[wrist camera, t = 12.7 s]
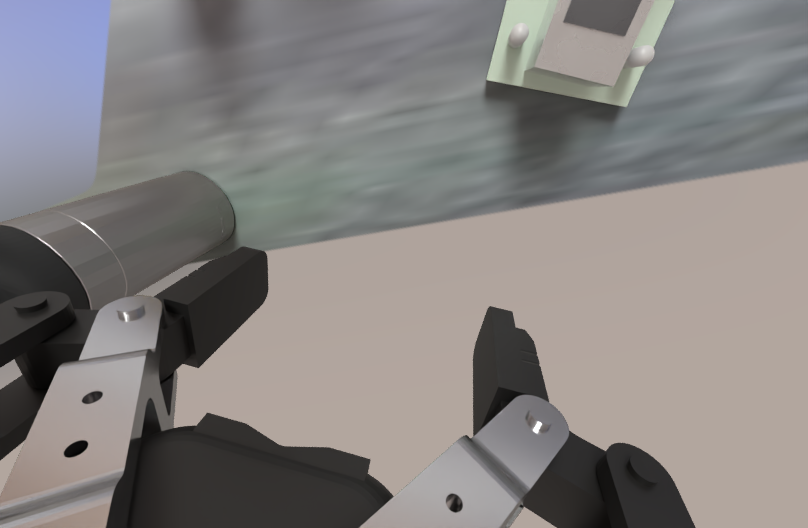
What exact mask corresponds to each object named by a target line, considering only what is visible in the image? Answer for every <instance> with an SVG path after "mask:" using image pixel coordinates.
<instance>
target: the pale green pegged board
mask: <svg viewBox="0 0 808 528" xmlns="http://www.w3.org/2000/svg"><path fill="white" fill-rule="evenodd" d="M548 2H549V0H507V2H506V6H505V10H504V14H503V17H502V21H501V25H500V29H499V33H498V37H497V41H496V45H495V49H494V52H493V56H492V60H491V64H490V68H489V72H488V76H487V80H488V81H493V82H498V83H504V84H509V85H514V86H519V87H524V88H529V89H534V90H539V91H545V92H550V93H555V94H560V95H565V96H570V97H575V98H580V99H586V100H591V101H596V102H601V103H606V104H611V105H616V106H622V107H627V105H628V103H629V100H630V98H631V96H632V94H633V92H634V89H635V87H636V85H637V83H638V81H639V78H640V76H641V74H642V72H643V70H644V67H645V65H647V64H648V63H650V62H651V60H652V59H653V57H654V49H653V48H654V45H655V43H656V41H657V39H658V37H659V35H660V32H661V30H662V28H663V26H664V24H665V21H666V19H667V17H668V15H669V13H670V10H671V8H672V6H673V4H674V2H675V0H655V1H654V3H653V5H652V7H651V10H650V12H649V14H648V16H647V18H646V20H645V22H644V24H643V26H642V28H641V30H640V33H639V35H638V37H637V39H636V41H635V43H634V45H633V47H632V49H631V51H630V54H629V56H628V58H627V60H626V62H625V64H624V66H623V68H622V70H621V72H620V74H619V77H618V79H617V81H616V83H615V85H614V87H587V86H583V85H579V84H575V83H571V82H567V81H563V80H559V79H555V78H551V77H547V76H543V75H539V74H535V73H531V72H527V71H524V70H525V67H526V65H527V62H528V59H529V56H530V53H531V50H532V47H533V45H534V42H535V39H536V36H537V33H538V30H539V27H540V25H541V22H542V19H543V16H544V13H545V10H546V7H547V5H548Z"/></svg>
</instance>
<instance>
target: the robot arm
mask: <svg viewBox="0 0 808 528" xmlns="http://www.w3.org/2000/svg"><path fill="white" fill-rule="evenodd" d="M233 229H234V214H233V210H232V207H231V205H230V202H229V201H228V199H227V197H226V195H225V194H224V193H223V192H222V190H221V189H220V188H219V187H218V186H217V185H216V184H215V183H214V182H213V181H211V180H210V179H208V178H207V177H205V176H203V175H201V174H198V173H195V172H190V171H183V172H179V173H176V174H172V175H168V176H165V177H160V178H156V179H152V180H149V181H145V182H142V183H138V184H135V185H131V186H127V187H124V188H120V189H117V190H113V191H109V192H106V193H102V194H99V195H95V196H92V197H88V198H84V199H82V200H78V201H74V202H71V203H67V204H64V205H60V206H56V207H53V208H49V209H46V210H42V211H39V212H36V213H32V214H29V215H25V216H21V217H18V218H14V219H11V220H7V221H4V222H0V367H2V366H4V365H5V364H7V363H9V362H10V361H12V360H13V359H15V361H16V363H17V365H18V367H19V369H20V370H21V373H22V376H20V377H19V378H17V379H16V380H14V381H13V382H11V383H10V384H8V385H7V386H5V387H4V388H2V389H1V390H0V460H1V459H3V458H4V457H5V456H6V455H7V454H9V453H10V452H11V451H12V450H13V449H15V448H16V447H17V446H18V445H19V444H21V443H22V442H23V441H24V440H25V442H24V444H23V447H22V449H21V451H20V453H19V455H18V458H17V460H16V462H15V464H14V466H13V469H12V471H11V473H10V475H9V477H8V480H7V482H6V484H5V486H4V488H3V491H2V493H1V495H0V528H509V527H510V526H511V525H512V523H513V522H514V520H515V519H516V518H517V516H518V515H519V514H520V512H521V511H522V509H523V508H524V507H526V508H527V509H529V510H531V511H532V512H534V513H535V514H537V515H538V516H540V517H541V518H543V519H544V520H546V521H547V522H549V523H551V524H552V525H554V526H555V527H557V528H695V525H694V523H693V521H692V519H691V517H690V515H689V513H688V511H687V508H686V506H685V504H684V502H683V500H682V498H681V496H680V493H679V491H678V489H677V487H676V485H675V483H674V481H673V480H672V478H671V476H670V475H669V474H668V472H667V471H666V470H665V469H664V467H663V466H662V465H661V464H660V463H659V462H658V461H657V460H655V459H654V458H653V457H652V456H650V455H649V454H648V453H646V452H644V451H643V450H641V449H639V448H637V447H635V446H632V445H630V444H625V443H615V444H613V445H611V446H610V447H609V448H608V449H607V451H604V450H602V449H600V448H598V447H596V446H595V445H593V444H591V443H589V442H587V441H585V440H583V439H582V438H580V437H578V436H576V435H575V434H573V433H572V432H571V431H569V428H568V424H567V422H566V420H565V418H564V416H563V415H562V414H561V413H560V411H558V409H557V408H556V407H554V406H553V405H552V404H550V403H549V399H548V395H547V391H546V388H545V383H544V379H543V375H542V371H541V367H540V366H539V360H538V357H537V352H536V348H535V344H534V341H533V340H532V338H531V337H530V336H529V334H528V333H527V332H526V331H525V330H523V329H519V328H515V323H514V318H513V313H512V312H511V311H508V310H504V309H499V308H495V307H491V306H490V307H489V308H488V310H487V312H486V315H485V318H484V321H483V324H482V326H481V329H480V332H479V335H478V338H477V341H476V345H475V349H474V355H473V434H474V435H473V437H472V438H471V439H470V438H469V437H468V436H467V435H465V436H463V437H461V438H460V439H458V440H457V441H456V442H455V443H454V444H453V445H452V446H450V447H449V448H448V449H447V450H446V451H445V452H444V453H442V454H441V455H440V456H439V457H438V458H437V459H436V460H435V461H433V463H431V464H430V465H429V466H428V467H427V468H426V469H424V470H423V471H422V472H421V473H420V474H419V475H418V476H417V477H415V478H414V479H413V480H412V481H411V482H410V483H409V484H408V485H406V486H405V487H404V488H403V489H402V490H401V491H400V492H399V493H397V494H396V495H395V496H393V495H392V494H391V493H390V492H389V491H388V490H387V489H386V488H385V486H383V485H382V484H381V483H380V482H379V481H378V480H376V479H375V478H374V477H372V476H370V475H369V474H368V469H369V464H370V459H367V458H363V457H360V456H357V455H353V454H350V453H346V452H343V451H339V450H336V449H332V448H326V447H325V448H324V447H285V446H281V445H278V444H277V443H275V442H274V441H272V440H270V439H269V438H267V437H266V436H264V435H263V434H261V433H260V432H258V431H257V430H255V429H253V428H252V427H250V426H249V425H247V424H245V423H242V422H238V421H234V420H231V419H228V418H224V417H220V416H217V415H214V414H210V413H207V414H206V415H205V416H204V417H203V419H202V420H201V421H200V422H199V423H198V425H197V426H184V427H178V428H174V413H175V401H176V389H177V371H176V369H177V368H178V367H179V366H180V365H182V364H186V365H189V366H193V367H197V368H199V367H200V366H201V365H202V364H203V363H204V362H205V361H206V360H207V359H208V358H209V357H210V356H211V355H212V354H213V353H214V352H215V351H216V350H217V349H218V348H219V347H220V346H221V345H222V344H223V343H224V342H225V341H226V340H227V339H228V338H229V337H230V336H231V335H232V334H233V333H234V332H235V331H236V330H237V329H238V328H239V327H240V326H241V325H242V324H243V323H244V322H245V321H246V320H247V319H248V318H249V317H250V316H251V315H252V314H253V313H254V312H255V311H256V310H257V309H258V308H259V307H260V306H261V305H262V304H263V302H264V301H265V299H266V297H267V293H268V265H267V255H266V253H265V252H264V251H261V250H257V249H252V248H248V247H241V248H239V249H237V250H236V251H234V252H233V253H231V254H230V255H228V256H224V257H221V258H218V259H215V260H212V261H209V262H208V263H206V264H205V265H203V266H201V267H200V268H198V270H195V271H194V272H192V273H190V274H189V276H188V277H187V276H186V277H184V278H182V279H181V280H179V281H178V282H176V283H175V284H173V285H171V286H170V287H168V288H167V289H165V290H163V291H162V292H160V293H159V294H157V295H156V296H154V297H151V296H144V295H139V296H134V295H136V294H137V293H139V292H141V291H142V290H144V289H146V288H147V287H149V286H151V285H152V284H154V283H156V282H158V281H159V280H161V279H162V278H164V277H166V276H168V275H169V274H171V273H172V272H174V271H176V270H178V269H179V268H181V267H183V266H184V265H186V264H188V263H189V262H191V261H193V260H194V259H196V258H198V257H199V256H201V255H203V254H205V253H206V252H208V251H210V250H211V249H213V248H215V247H216V246H218V245H220V244H221V243H223V242H225V241H226V240H227V239H228V238H229V237H230V236H231V234H232V232H233Z"/></svg>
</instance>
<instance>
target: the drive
mask: <svg viewBox="0 0 808 528" xmlns="http://www.w3.org/2000/svg"><path fill="white" fill-rule="evenodd" d="M654 1H655V0H549V2H548V5H547V7H546V10H545V13H544V16H543V19H542V22H541V25H540V27H539V30H538V33H537V36H536V39H535V42H534V45H533V47H532V50H531V53H530V56H529V59H528V62H527V65H526V67H525V70H524V71H527V72H531V73H535V74H539V75H543V76H547V77H551V78H555V79H559V80H563V81H567V82H571V83H575V84H579V85H583V86H587V87H614V85H615V83H616V81H617V79H618V77H619V74H620V72H621V70H622V68H623V66H624V64H625V62H626V60H627V58H628V56H629V54H630V51H631V49H632V47H633V45H634V43H635V41H636V39H637V37H638V35H639V33H640V30H641V28H642V26H643V24H644V22H645V20H646V18H647V16H648V14H649V12H650V10H651V7H652V5H653V3H654Z"/></svg>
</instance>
